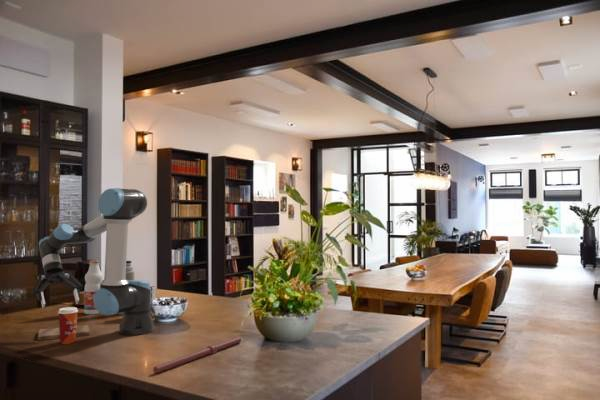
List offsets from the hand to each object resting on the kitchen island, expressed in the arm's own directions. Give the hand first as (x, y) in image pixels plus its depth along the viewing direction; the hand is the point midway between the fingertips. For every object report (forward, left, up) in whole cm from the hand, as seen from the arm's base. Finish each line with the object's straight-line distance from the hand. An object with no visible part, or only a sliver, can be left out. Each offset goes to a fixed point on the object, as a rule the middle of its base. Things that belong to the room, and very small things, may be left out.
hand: (61, 304), depth 207 cm
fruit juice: (+24, -45, -15) cm, 53 cm away
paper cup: (-8, +5, -15) cm, 18 cm away
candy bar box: (-8, -45, -15) cm, 48 cm away
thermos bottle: (+7, -50, -15) cm, 53 cm away
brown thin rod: (-71, +4, -15) cm, 73 cm away
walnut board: (+4, -5, -14) cm, 16 cm away
